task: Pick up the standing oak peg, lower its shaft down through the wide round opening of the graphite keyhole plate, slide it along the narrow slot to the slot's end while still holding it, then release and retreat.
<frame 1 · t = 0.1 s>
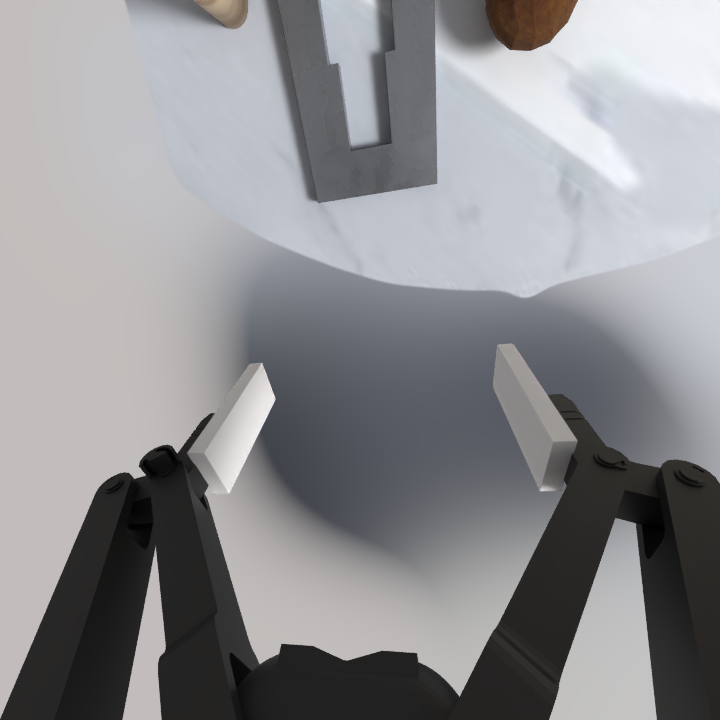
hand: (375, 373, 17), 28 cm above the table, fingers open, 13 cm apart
keyhole plate: (363, 71, 31), on the table
peg: (229, 2, 29), on the table
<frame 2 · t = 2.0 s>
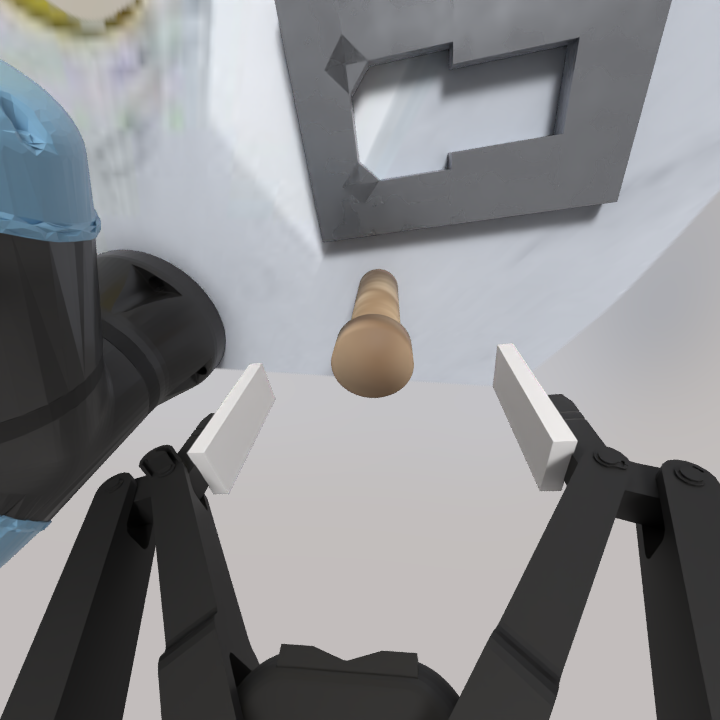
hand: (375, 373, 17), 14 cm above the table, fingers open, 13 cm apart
keyhole plate: (459, 111, 21), on the table
peg: (378, 288, 29), on the table
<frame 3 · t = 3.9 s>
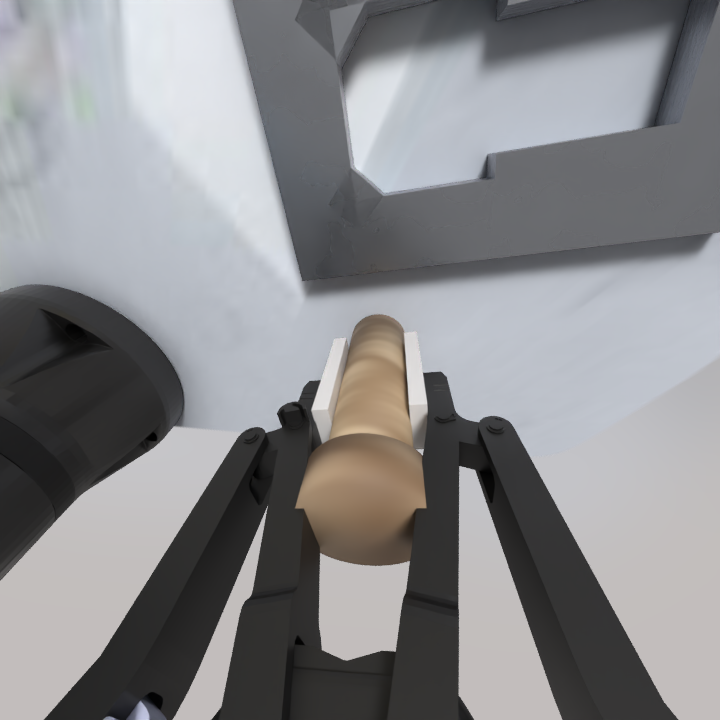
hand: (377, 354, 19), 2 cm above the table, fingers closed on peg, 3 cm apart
keyhole plate: (508, 90, 14), on the table
peg: (378, 338, 21), on the table, touching gripper
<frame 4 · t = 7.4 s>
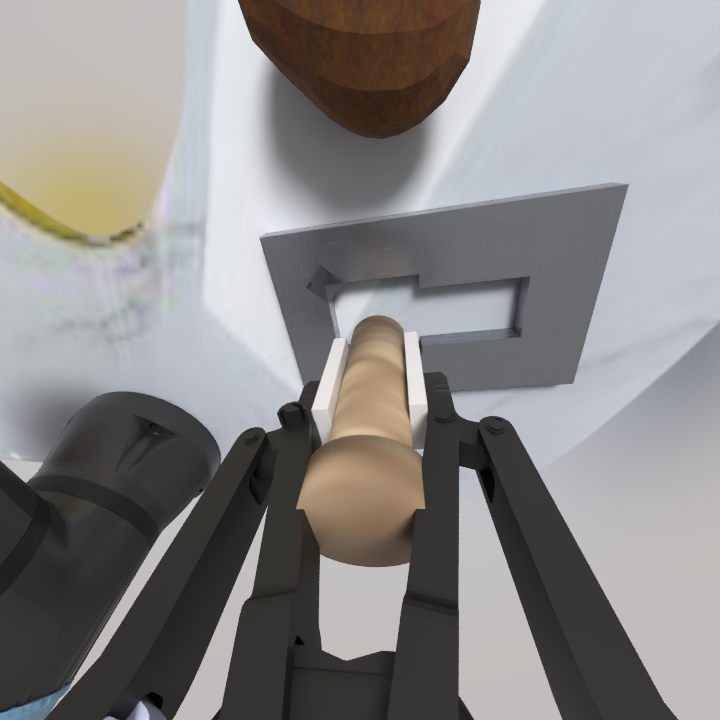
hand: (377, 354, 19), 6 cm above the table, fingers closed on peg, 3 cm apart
keyhole plate: (428, 309, 24), on the table
peg: (378, 339, 21), point 4 cm above the table, touching gripper
potato: (364, 54, 16), on the table
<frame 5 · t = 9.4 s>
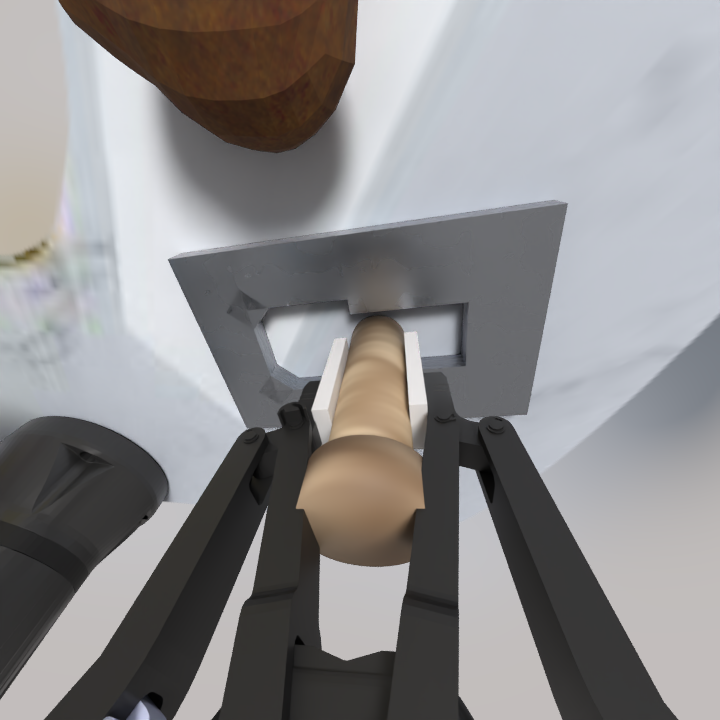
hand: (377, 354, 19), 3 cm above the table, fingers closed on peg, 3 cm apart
keyhole plate: (367, 334, 22), on the table
peg: (378, 339, 21), point 1 cm above the table, touching gripper
potato: (262, 55, 14), on the table
when the fingers open (3 cm above the table, at t = 11.1 s): peg stays where it is, resting in keyhole plate.
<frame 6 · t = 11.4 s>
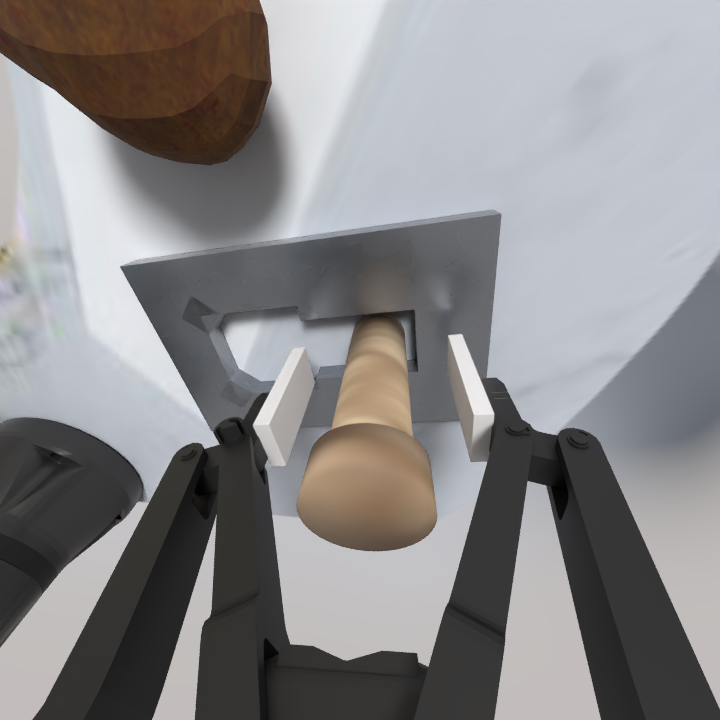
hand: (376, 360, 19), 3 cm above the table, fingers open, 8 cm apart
keyhole plate: (323, 339, 22), on the table
peg: (378, 335, 21), resting in keyhole plate
potato: (198, 69, 15), on the table
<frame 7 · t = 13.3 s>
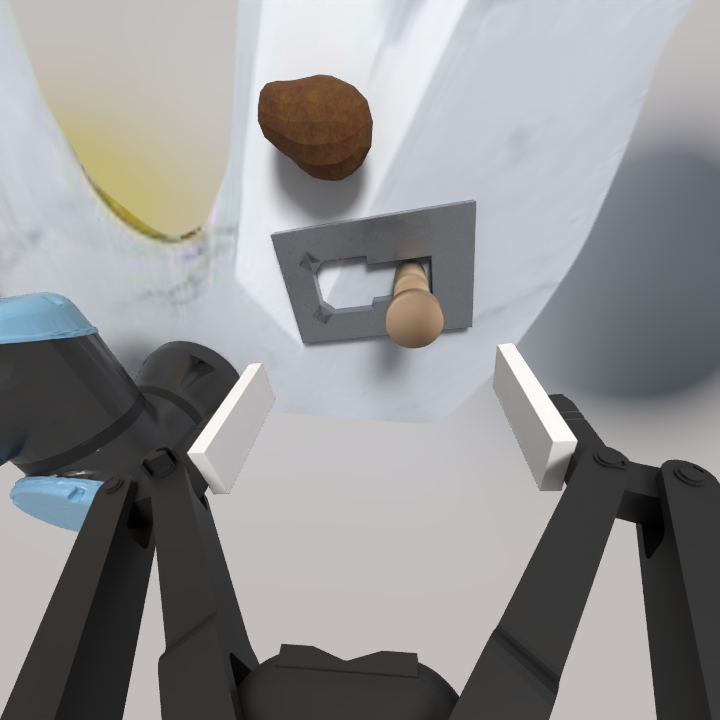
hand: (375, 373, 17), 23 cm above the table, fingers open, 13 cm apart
keyhole plate: (376, 279, 37), on the table
peg: (409, 275, 37), resting in keyhole plate
potato: (326, 133, 30), on the table
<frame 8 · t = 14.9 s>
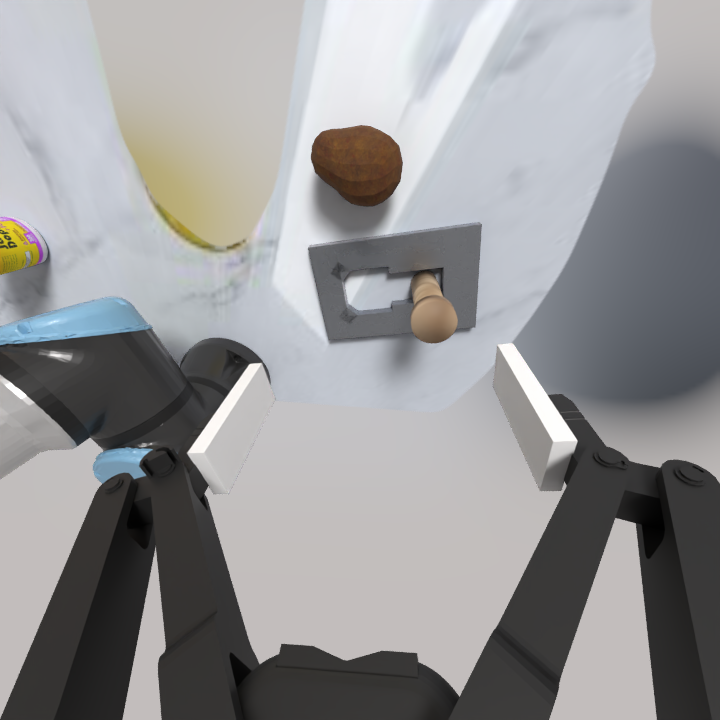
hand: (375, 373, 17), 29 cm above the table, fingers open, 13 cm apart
supplement bottle: (27, 239, 45), on the table
keyhole plate: (395, 285, 44), on the table
peg: (423, 283, 43), resting in keyhole plate
potato: (360, 166, 37), on the table
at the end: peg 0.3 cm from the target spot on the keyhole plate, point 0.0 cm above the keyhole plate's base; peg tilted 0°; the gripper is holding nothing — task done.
